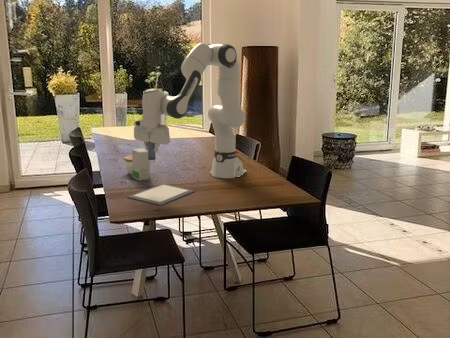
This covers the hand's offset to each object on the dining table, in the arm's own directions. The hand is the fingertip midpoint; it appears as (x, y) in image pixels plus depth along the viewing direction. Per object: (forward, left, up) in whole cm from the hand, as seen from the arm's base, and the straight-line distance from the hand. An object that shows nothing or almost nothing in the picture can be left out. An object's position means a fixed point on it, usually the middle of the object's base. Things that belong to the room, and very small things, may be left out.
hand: (151, 151), depth 228 cm
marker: (0, 0, -4) cm, 4 cm away
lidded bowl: (-18, -27, -20) cm, 38 cm away
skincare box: (-12, -18, -20) cm, 29 cm away
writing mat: (+4, +9, -19) cm, 22 cm away
